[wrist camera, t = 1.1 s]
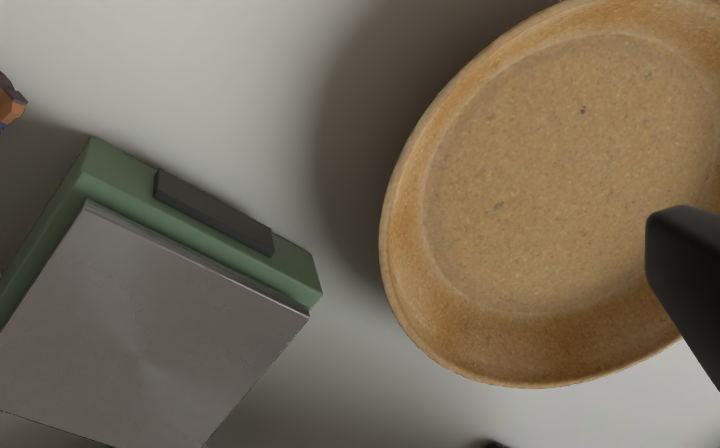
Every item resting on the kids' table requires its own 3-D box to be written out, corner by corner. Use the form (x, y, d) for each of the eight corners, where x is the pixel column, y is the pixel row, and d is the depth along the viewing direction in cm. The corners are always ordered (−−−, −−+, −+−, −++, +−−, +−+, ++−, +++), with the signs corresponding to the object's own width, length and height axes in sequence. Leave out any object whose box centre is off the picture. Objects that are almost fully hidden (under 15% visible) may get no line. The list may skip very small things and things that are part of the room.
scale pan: (308, 305, 21) (311, 317, 20) (183, 456, 23) (182, 470, 22) (86, 195, 18) (83, 207, 17) (-37, 382, 20) (-43, 398, 19)
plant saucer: (456, 400, 29) (478, 449, 26) (279, 119, 21) (290, 155, 18) (777, 230, 28) (828, 266, 25) (721, -134, 20) (788, -129, 17)
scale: (317, 247, 23) (330, 288, 21) (187, 408, 26) (187, 458, 24) (97, 126, 20) (86, 161, 17) (-32, 327, 22) (-54, 378, 20)
